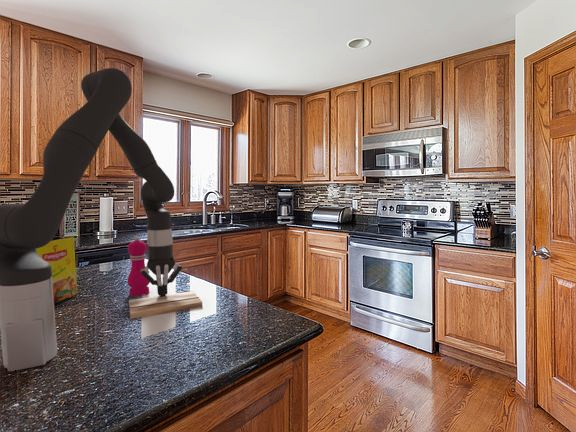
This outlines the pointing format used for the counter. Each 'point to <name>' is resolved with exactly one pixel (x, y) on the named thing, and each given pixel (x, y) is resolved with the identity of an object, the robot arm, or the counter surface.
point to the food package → (61, 267)
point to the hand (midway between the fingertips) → (162, 296)
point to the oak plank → (164, 307)
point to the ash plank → (161, 299)
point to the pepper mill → (137, 268)
